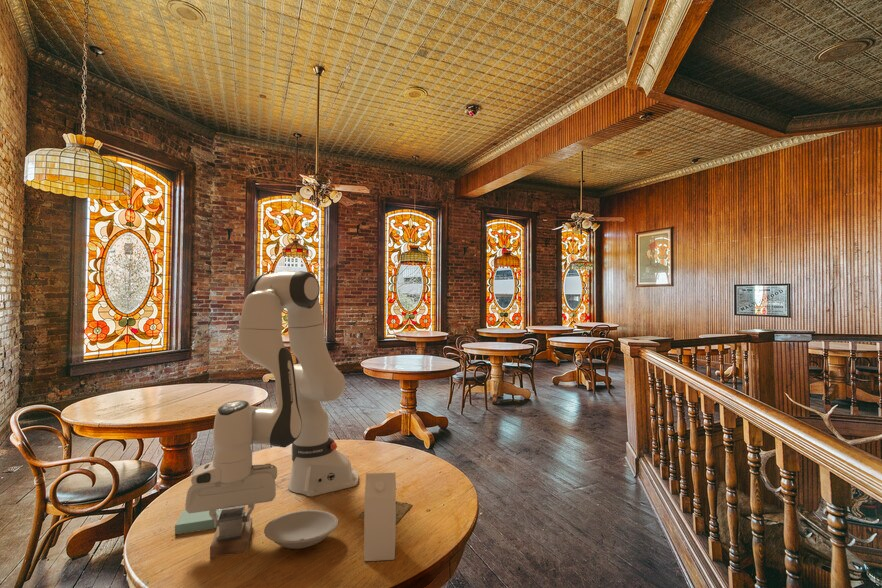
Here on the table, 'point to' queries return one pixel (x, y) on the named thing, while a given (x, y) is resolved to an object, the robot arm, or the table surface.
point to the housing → (231, 523)
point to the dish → (301, 528)
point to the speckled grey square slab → (397, 510)
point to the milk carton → (379, 516)
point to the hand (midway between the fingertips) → (232, 523)
